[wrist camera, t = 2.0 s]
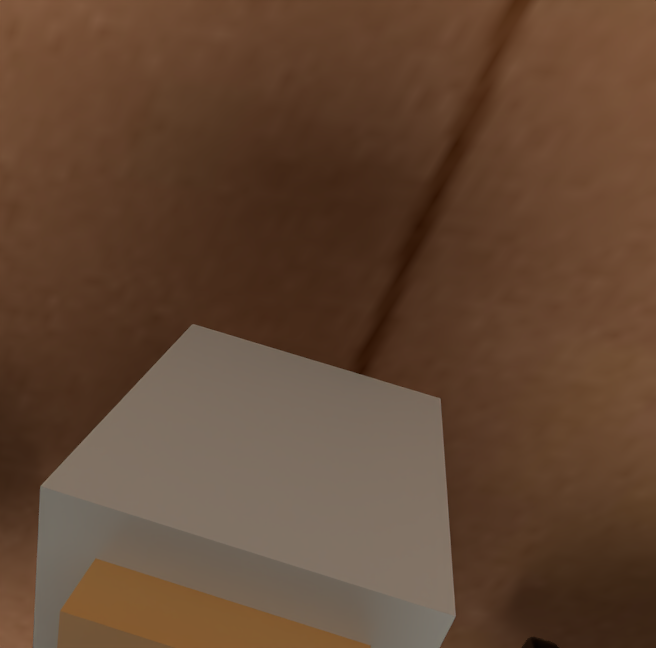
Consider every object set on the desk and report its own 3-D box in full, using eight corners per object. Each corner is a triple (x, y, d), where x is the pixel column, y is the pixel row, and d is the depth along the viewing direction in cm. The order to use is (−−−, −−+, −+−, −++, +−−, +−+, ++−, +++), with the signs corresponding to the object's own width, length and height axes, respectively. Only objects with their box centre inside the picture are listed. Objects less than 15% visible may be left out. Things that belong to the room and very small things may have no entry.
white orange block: (439, 394, 9) (460, 680, 5) (328, 672, 12) (278, 1002, 7) (196, 320, 9) (-5, 533, 5) (145, 613, 12) (-5, 907, 8)
